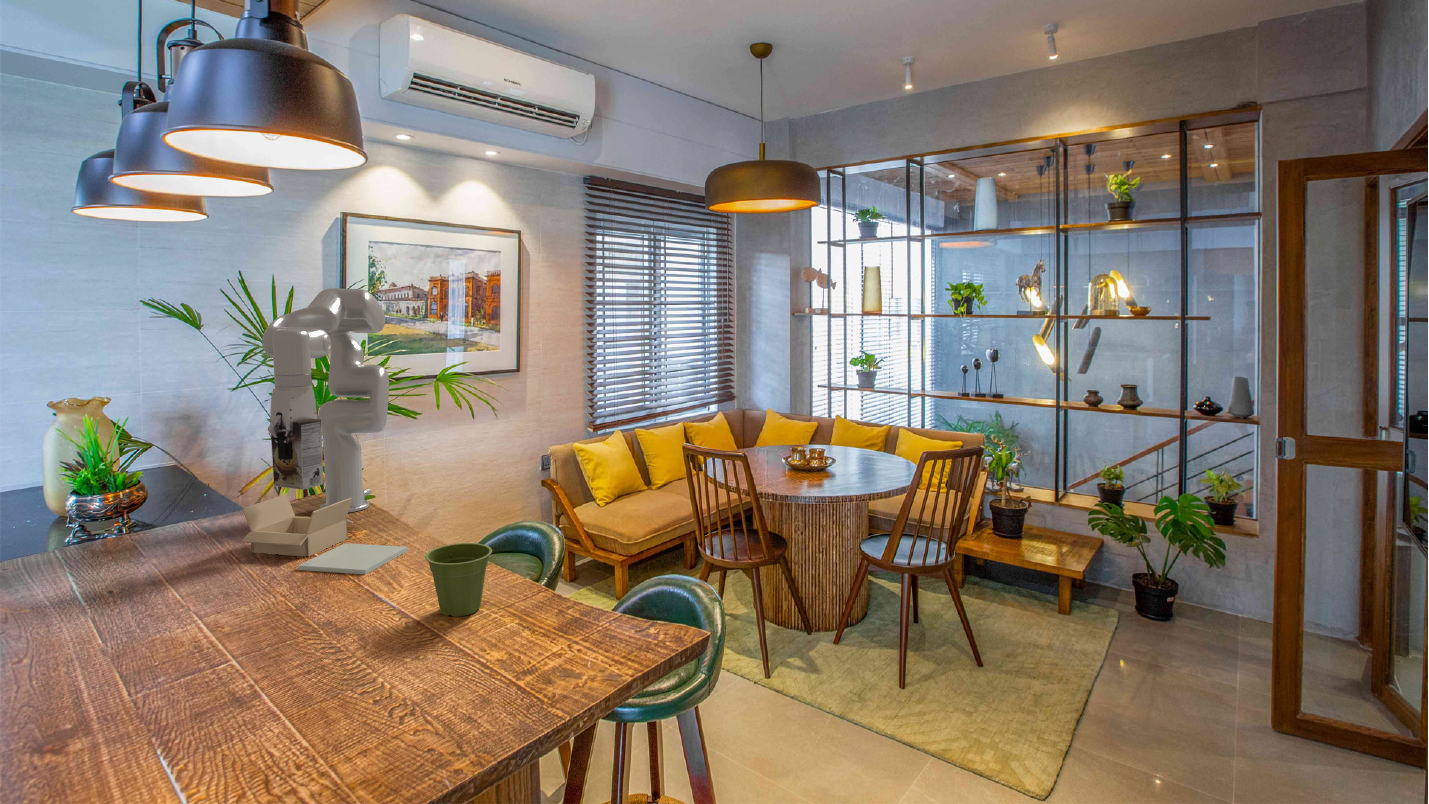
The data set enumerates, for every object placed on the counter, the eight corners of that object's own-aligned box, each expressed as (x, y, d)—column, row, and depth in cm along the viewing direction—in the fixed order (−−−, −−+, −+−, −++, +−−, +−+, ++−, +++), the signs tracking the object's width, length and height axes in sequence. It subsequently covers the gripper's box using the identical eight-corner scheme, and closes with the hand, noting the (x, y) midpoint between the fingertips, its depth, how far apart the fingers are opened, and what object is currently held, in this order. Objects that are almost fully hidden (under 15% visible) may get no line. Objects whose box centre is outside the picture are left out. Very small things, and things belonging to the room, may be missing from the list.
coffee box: (272, 486, 165) (268, 419, 163) (295, 480, 171) (292, 415, 169) (302, 490, 162) (298, 422, 160) (325, 484, 168) (321, 418, 166)
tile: (345, 547, 167) (345, 543, 167) (407, 551, 165) (407, 546, 165) (297, 569, 152) (297, 565, 151) (365, 574, 149) (365, 570, 149)
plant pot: (413, 613, 130) (411, 555, 129) (465, 593, 140) (464, 539, 139) (455, 628, 124) (453, 567, 123) (506, 606, 134) (505, 549, 133)
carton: (295, 532, 178) (293, 491, 177) (361, 536, 176) (359, 494, 175) (235, 556, 160) (232, 510, 158) (307, 561, 157) (305, 514, 156)
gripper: (305, 378, 173) (308, 448, 175) (249, 384, 156) (254, 462, 158) (332, 379, 172) (336, 449, 174) (280, 385, 155) (284, 464, 157)
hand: (297, 455), depth 166 cm, fingers closed on coffee box, 7 cm apart
